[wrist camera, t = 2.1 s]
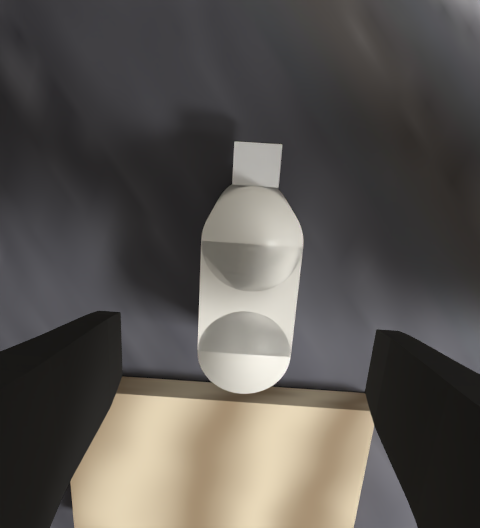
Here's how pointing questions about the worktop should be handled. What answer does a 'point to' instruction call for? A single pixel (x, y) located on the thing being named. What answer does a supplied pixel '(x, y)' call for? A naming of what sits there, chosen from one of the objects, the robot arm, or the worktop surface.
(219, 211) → the capped bottle
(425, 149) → the worktop surface
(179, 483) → the birch board
